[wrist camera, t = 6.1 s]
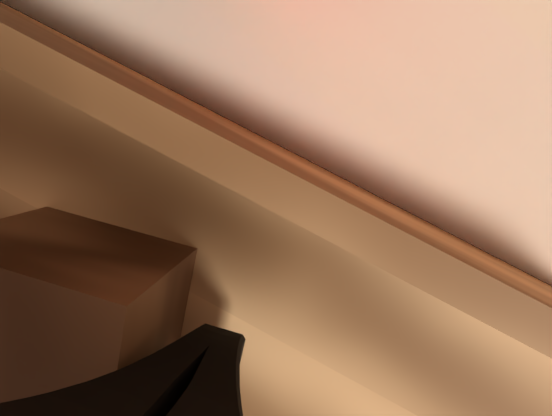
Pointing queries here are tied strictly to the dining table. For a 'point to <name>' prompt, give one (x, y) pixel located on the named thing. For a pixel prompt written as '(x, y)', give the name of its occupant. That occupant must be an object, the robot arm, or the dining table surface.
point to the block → (83, 299)
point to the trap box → (274, 246)
